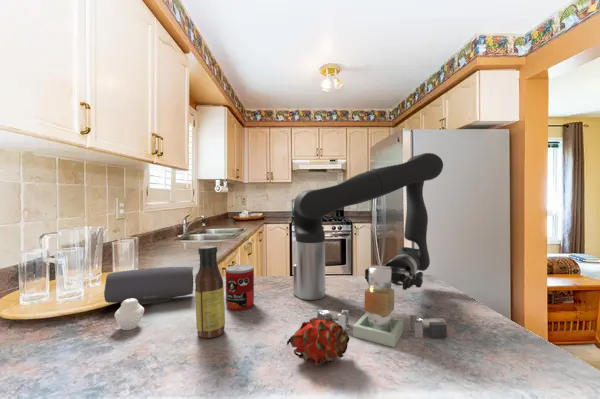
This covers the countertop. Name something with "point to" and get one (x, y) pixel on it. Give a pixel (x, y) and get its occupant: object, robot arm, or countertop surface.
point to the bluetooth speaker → (149, 284)
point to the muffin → (129, 314)
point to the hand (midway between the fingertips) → (386, 282)
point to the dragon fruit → (320, 340)
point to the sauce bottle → (209, 295)
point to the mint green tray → (379, 331)
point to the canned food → (239, 287)
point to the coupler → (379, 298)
